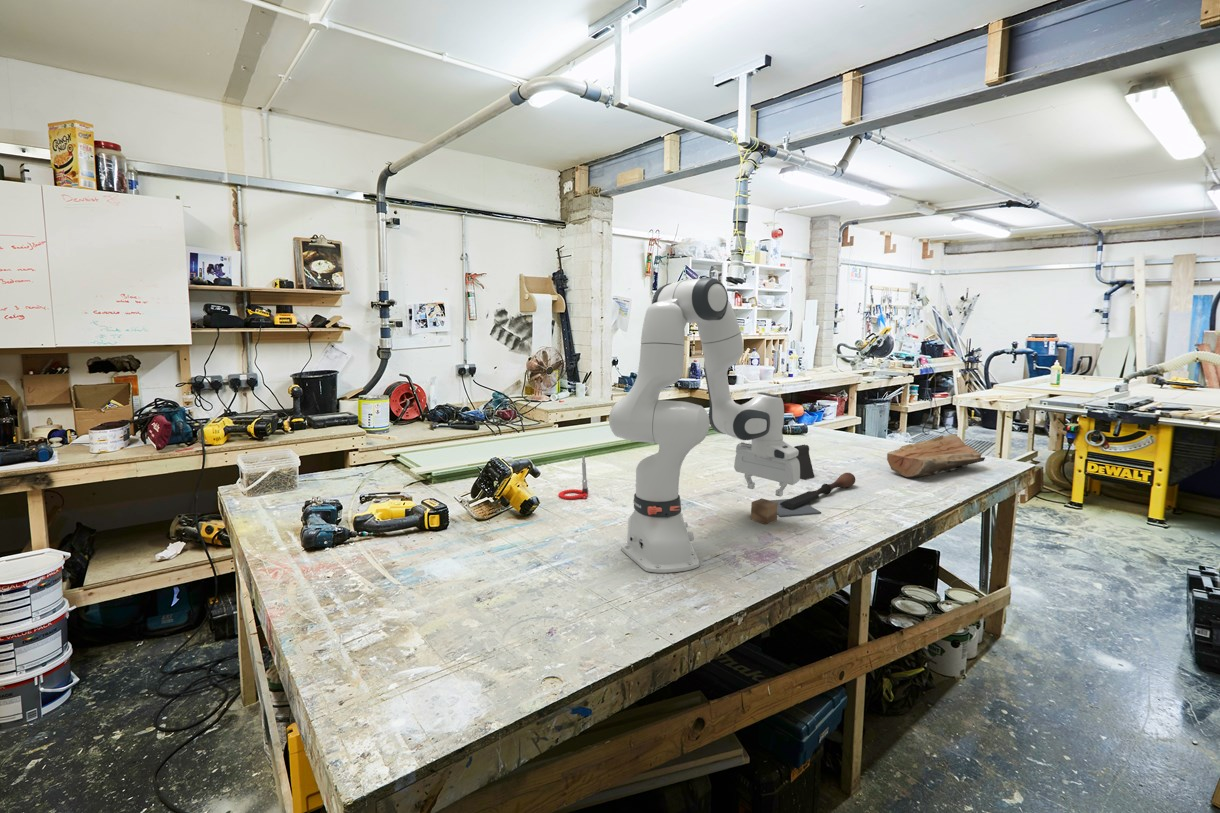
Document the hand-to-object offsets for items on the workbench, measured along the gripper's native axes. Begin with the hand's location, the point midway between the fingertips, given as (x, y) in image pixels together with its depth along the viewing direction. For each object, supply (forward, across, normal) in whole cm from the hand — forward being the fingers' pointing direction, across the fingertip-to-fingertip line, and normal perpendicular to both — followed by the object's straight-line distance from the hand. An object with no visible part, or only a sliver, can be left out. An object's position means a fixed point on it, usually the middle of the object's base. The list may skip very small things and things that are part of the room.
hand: (764, 492), depth 169 cm
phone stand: (+10, -15, +52) cm, 55 cm away
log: (+11, +19, +98) cm, 100 cm away
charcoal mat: (+9, 0, +14) cm, 17 cm away
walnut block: (+8, +1, -1) cm, 8 cm away
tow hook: (+9, -56, -28) cm, 63 cm away
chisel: (+9, +2, +33) cm, 34 cm away
